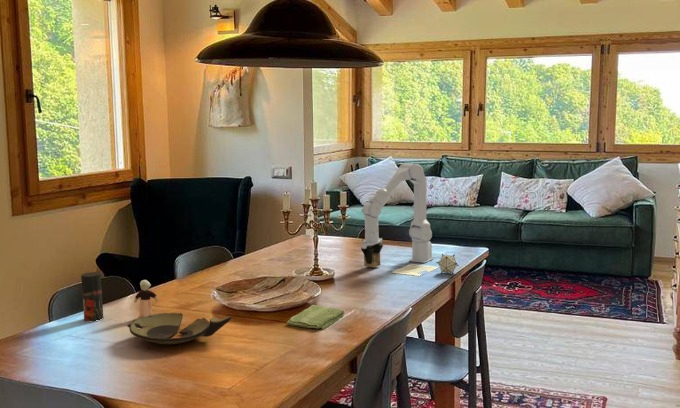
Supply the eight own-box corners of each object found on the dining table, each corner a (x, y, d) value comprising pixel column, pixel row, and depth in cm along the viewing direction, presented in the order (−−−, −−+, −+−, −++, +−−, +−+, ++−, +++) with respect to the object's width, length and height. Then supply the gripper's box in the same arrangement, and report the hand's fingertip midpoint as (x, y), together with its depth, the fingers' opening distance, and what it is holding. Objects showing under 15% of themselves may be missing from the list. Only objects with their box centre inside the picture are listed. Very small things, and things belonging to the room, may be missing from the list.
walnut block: (370, 263, 287) (370, 252, 287) (380, 265, 285) (380, 253, 284) (364, 266, 283) (364, 254, 283) (374, 267, 281) (374, 255, 280)
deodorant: (107, 318, 218) (104, 273, 217) (92, 322, 213) (89, 277, 211) (95, 315, 222) (92, 271, 220) (80, 320, 216) (77, 275, 214)
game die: (451, 281, 273) (465, 261, 273) (448, 279, 265) (462, 258, 265) (433, 269, 276) (447, 249, 277) (429, 266, 269) (444, 246, 269)
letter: (411, 264, 289) (411, 263, 289) (438, 267, 282) (438, 267, 282) (391, 272, 274) (391, 272, 274) (419, 276, 267) (419, 276, 267)
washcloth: (284, 327, 207) (284, 317, 207) (312, 312, 223) (312, 302, 222) (321, 333, 201) (321, 322, 201) (347, 317, 217) (347, 307, 216)
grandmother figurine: (134, 320, 215) (132, 282, 214) (134, 317, 219) (132, 279, 217) (159, 318, 217) (157, 280, 216) (159, 314, 221) (157, 277, 219)
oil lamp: (165, 323, 212) (164, 300, 211) (242, 337, 198) (241, 312, 197) (111, 345, 192) (109, 320, 191) (192, 362, 178) (190, 334, 177)
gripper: (372, 227, 290) (372, 258, 292) (354, 232, 278) (355, 264, 280) (386, 228, 286) (386, 259, 288) (369, 234, 274) (369, 266, 276)
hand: (372, 262), depth 284 cm, fingers closed on walnut block, 5 cm apart
